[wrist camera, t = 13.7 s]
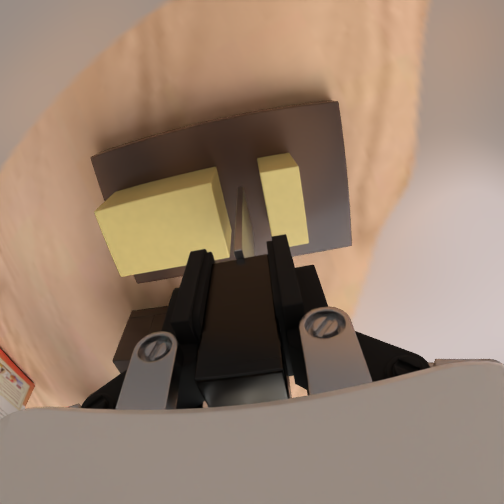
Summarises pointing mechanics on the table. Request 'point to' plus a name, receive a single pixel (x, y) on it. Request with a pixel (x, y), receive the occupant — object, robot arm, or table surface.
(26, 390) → the cracker box
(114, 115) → the table surface
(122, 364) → the knife block
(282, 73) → the table surface
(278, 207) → the butter pat
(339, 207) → the board
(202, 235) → the butter
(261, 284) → the knife
